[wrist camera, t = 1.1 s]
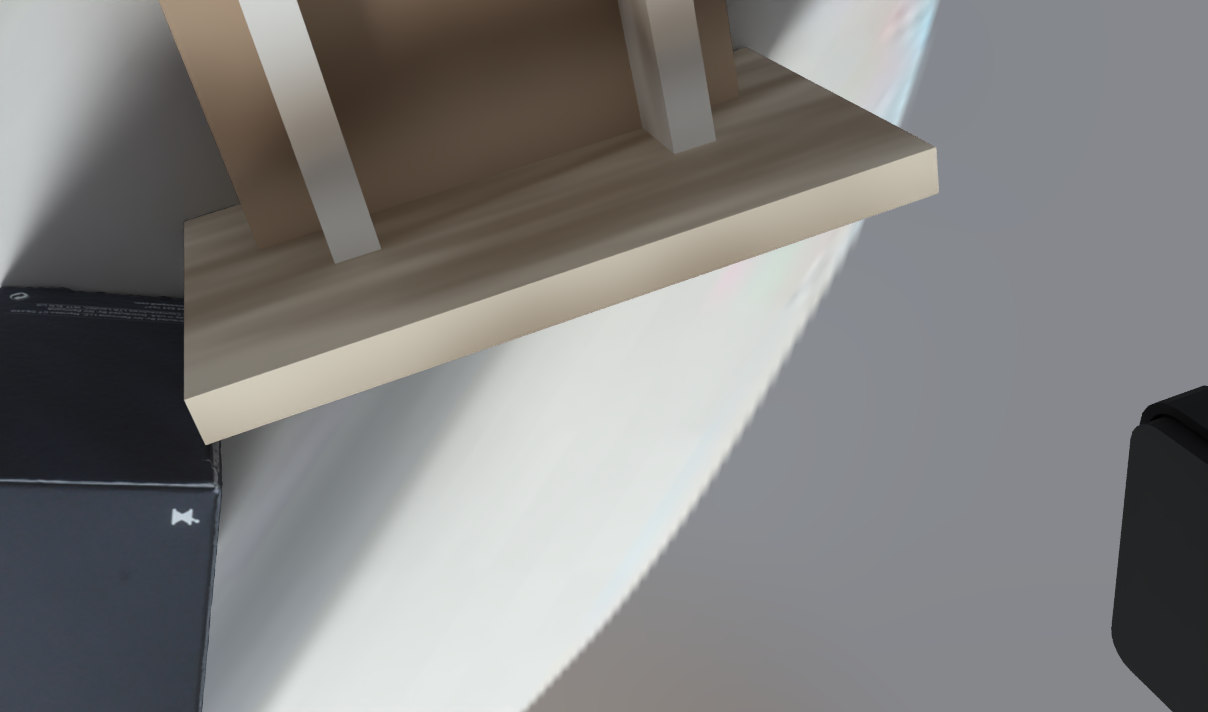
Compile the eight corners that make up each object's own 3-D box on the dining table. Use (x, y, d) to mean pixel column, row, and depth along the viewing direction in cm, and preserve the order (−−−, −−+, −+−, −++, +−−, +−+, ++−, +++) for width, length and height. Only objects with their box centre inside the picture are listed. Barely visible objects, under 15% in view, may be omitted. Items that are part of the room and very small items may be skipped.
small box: (-19, 277, 33) (-95, 472, 24) (222, 294, 35) (235, 477, 26) (-17, 583, 37) (-81, 846, 28) (199, 579, 39) (203, 820, 30)
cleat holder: (8, -184, 28) (-78, -152, 19) (688, -351, 31) (903, -395, 22) (222, 309, 35) (235, 509, 26) (758, 135, 38) (942, 258, 29)
